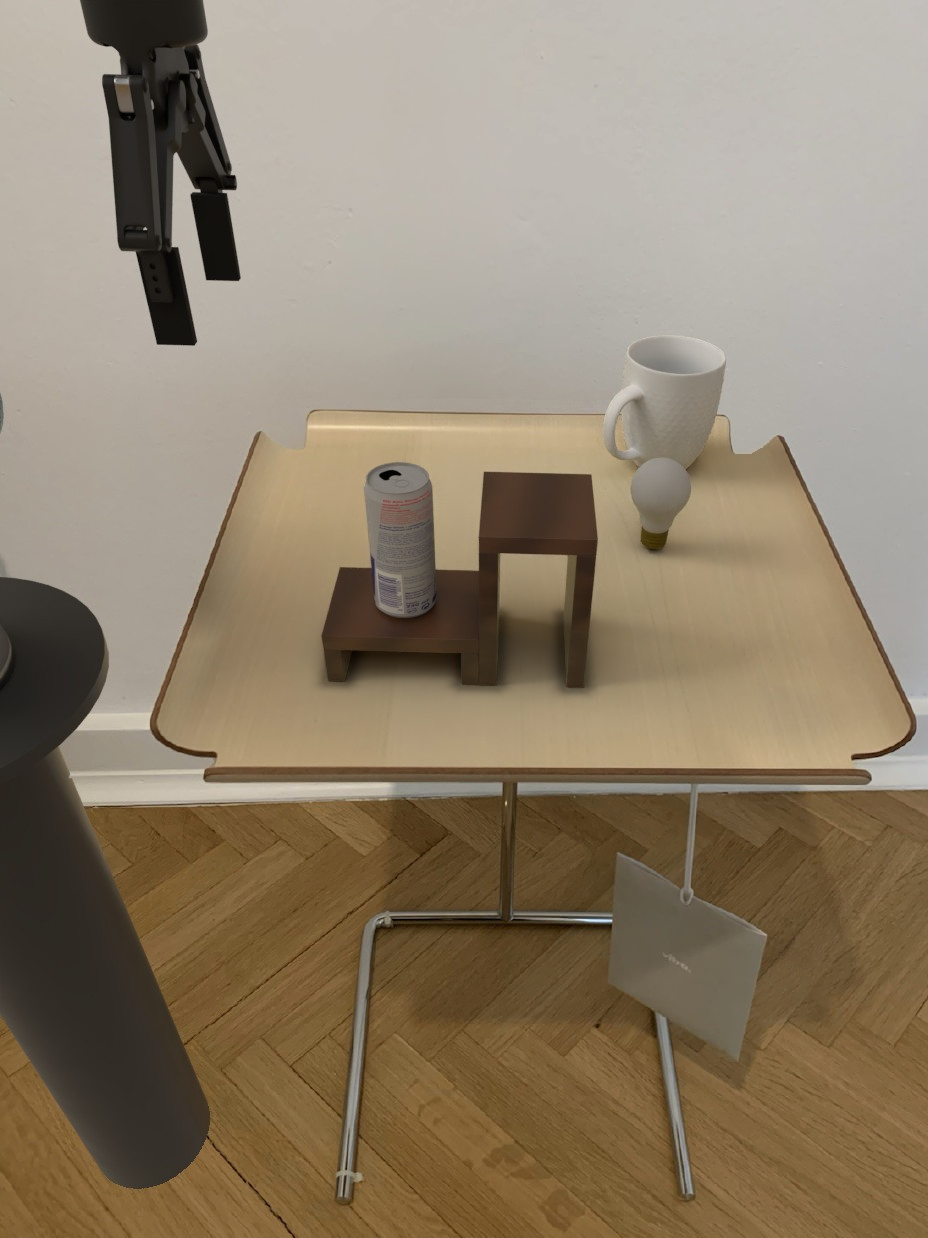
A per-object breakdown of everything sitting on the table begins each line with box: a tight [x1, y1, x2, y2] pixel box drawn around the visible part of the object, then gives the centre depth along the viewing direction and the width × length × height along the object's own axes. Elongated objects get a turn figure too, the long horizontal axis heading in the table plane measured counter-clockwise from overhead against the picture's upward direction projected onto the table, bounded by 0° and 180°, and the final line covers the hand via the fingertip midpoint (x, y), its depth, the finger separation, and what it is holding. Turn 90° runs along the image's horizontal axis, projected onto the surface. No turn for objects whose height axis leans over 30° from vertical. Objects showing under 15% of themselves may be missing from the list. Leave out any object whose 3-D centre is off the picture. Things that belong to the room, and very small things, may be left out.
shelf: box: [320, 471, 599, 689], centre depth 80 cm, size 22×10×15 cm, turn 89°
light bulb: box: [630, 457, 692, 551], centre depth 94 cm, size 6×6×10 cm
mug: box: [602, 334, 727, 470], centre depth 106 cm, size 15×11×13 cm
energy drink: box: [363, 461, 437, 618], centre depth 77 cm, size 5×5×12 cm
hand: (202, 309), depth 73 cm, fingers open, 13 cm apart
